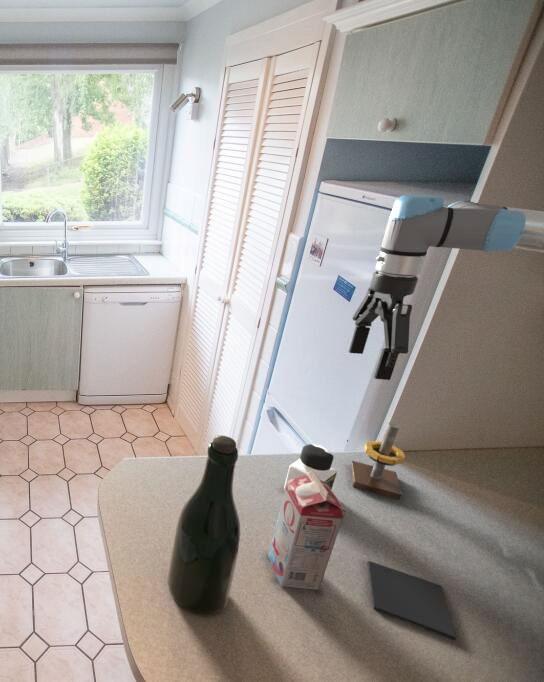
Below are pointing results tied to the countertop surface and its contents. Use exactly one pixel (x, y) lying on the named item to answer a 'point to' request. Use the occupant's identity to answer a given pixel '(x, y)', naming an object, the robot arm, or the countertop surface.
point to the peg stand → (378, 469)
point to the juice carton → (305, 532)
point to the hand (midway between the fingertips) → (367, 365)
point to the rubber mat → (410, 599)
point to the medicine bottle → (313, 464)
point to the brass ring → (386, 459)
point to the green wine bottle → (207, 536)
